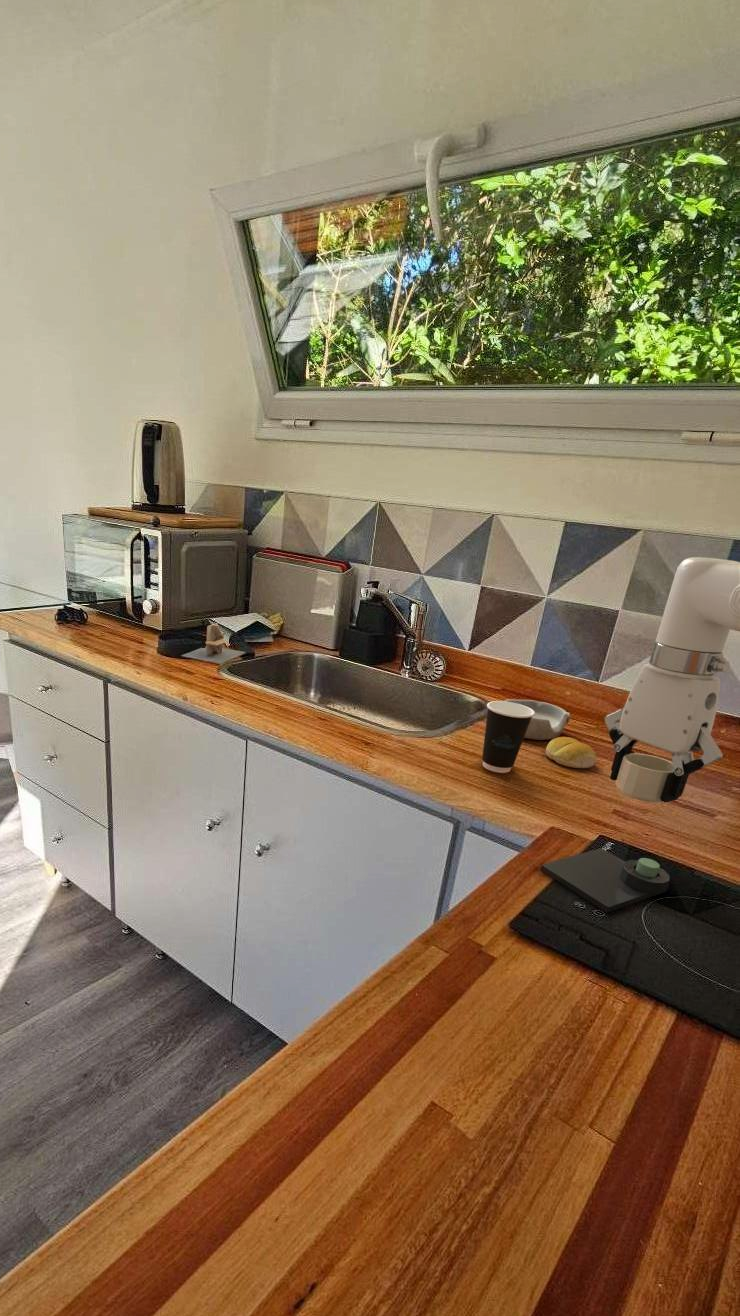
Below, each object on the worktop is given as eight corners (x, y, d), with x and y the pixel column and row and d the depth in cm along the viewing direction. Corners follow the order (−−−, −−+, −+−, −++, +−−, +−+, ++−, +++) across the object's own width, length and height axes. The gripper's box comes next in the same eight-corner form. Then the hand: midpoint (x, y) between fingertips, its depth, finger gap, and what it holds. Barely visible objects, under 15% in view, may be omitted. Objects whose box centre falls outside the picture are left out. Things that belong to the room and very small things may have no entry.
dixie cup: (489, 777, 113) (504, 716, 108) (465, 759, 120) (478, 700, 115) (528, 775, 115) (544, 715, 111) (502, 757, 122) (516, 700, 118)
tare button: (642, 866, 85) (646, 856, 84) (660, 876, 83) (664, 865, 82) (631, 870, 84) (635, 859, 83) (648, 880, 82) (652, 869, 81)
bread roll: (570, 750, 130) (575, 731, 128) (601, 768, 122) (608, 748, 120) (534, 751, 127) (539, 731, 126) (564, 770, 119) (570, 749, 118)
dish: (567, 730, 141) (574, 708, 139) (555, 748, 130) (561, 724, 128) (500, 714, 147) (505, 692, 145) (482, 729, 136) (487, 706, 134)
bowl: (634, 780, 96) (643, 751, 94) (679, 799, 91) (690, 768, 89) (604, 787, 93) (613, 756, 91) (649, 807, 87) (659, 774, 85)
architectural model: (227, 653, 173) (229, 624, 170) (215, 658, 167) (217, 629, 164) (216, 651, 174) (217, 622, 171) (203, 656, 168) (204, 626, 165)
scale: (599, 853, 92) (604, 837, 91) (672, 894, 84) (678, 877, 83) (539, 870, 86) (544, 854, 85) (611, 916, 78) (617, 898, 77)
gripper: (771, 676, 79) (721, 811, 86) (639, 645, 93) (605, 763, 100) (737, 680, 76) (688, 820, 83) (605, 646, 89) (572, 769, 96)
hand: (643, 788), depth 91 cm, fingers closed on bowl, 6 cm apart
